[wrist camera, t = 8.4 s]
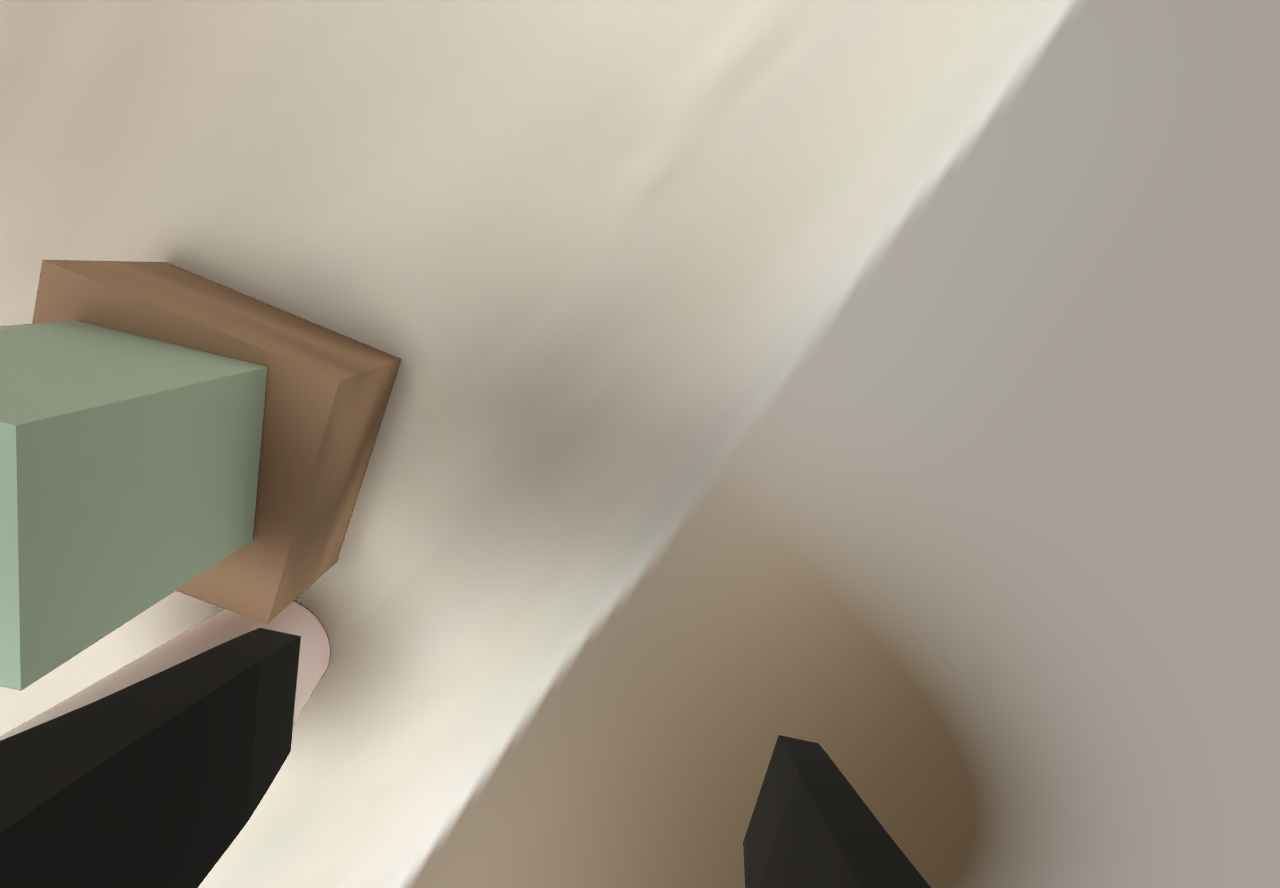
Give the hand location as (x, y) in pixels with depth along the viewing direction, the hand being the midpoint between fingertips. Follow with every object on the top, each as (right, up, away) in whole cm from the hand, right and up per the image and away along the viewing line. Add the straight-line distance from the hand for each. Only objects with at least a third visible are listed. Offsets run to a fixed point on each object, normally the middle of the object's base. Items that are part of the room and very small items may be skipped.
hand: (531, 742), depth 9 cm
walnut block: (-10, +5, +10) cm, 15 cm away
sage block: (-10, +5, +6) cm, 12 cm away
